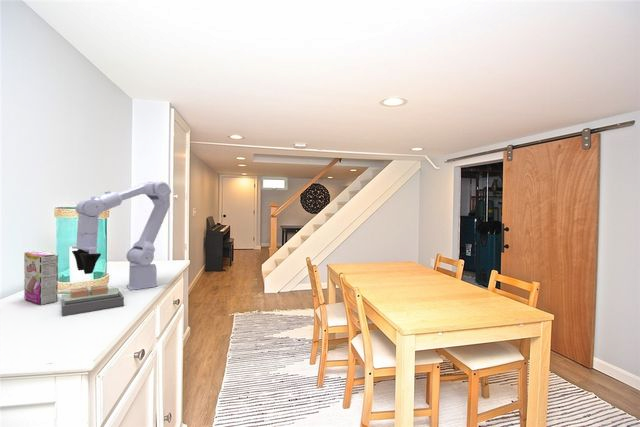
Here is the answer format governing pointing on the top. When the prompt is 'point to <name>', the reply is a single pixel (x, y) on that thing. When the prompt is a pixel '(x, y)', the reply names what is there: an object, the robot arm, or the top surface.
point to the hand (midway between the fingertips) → (85, 271)
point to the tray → (92, 304)
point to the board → (91, 296)
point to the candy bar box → (40, 277)
